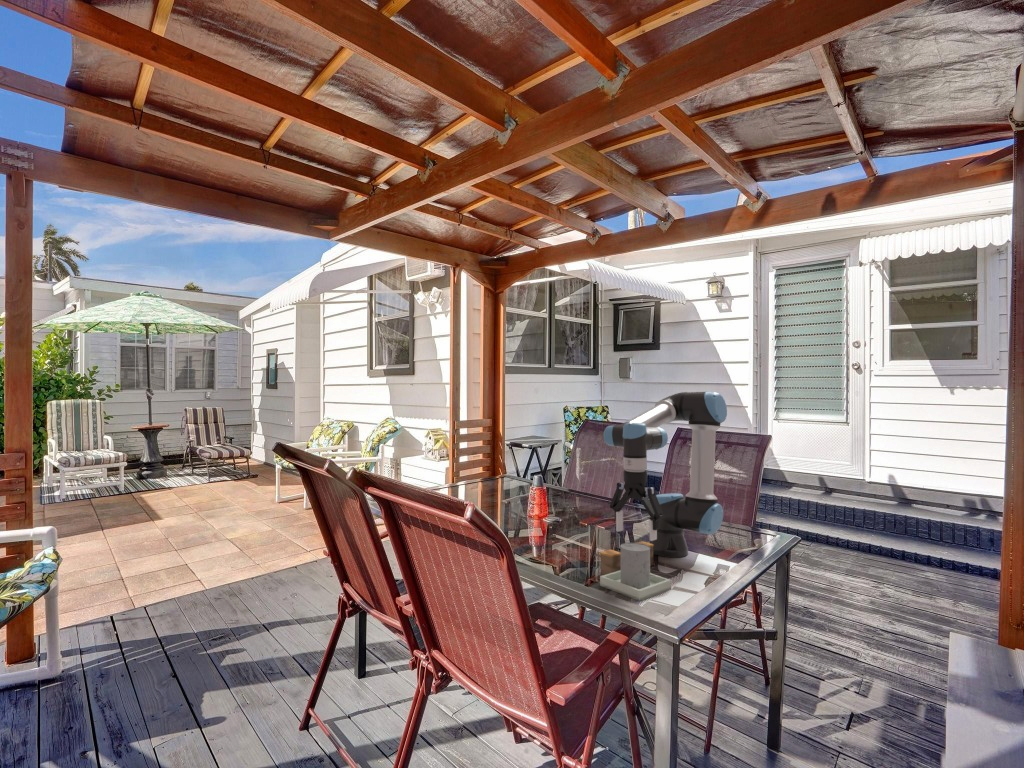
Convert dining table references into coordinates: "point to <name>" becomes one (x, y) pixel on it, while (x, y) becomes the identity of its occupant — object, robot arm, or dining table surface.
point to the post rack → (617, 559)
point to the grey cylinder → (635, 565)
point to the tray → (655, 588)
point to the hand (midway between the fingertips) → (635, 535)
